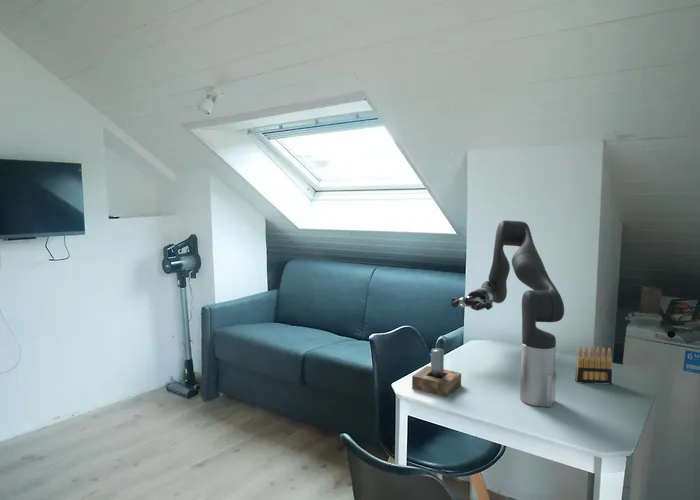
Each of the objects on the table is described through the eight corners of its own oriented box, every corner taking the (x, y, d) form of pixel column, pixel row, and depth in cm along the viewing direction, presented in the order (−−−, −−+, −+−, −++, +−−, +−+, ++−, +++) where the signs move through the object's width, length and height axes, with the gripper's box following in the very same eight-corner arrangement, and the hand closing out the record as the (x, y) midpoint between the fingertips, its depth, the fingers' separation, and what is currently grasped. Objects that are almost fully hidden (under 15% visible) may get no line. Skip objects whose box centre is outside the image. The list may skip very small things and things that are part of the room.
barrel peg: (445, 385, 150) (445, 349, 149) (440, 389, 147) (440, 353, 145) (433, 382, 152) (434, 347, 151) (428, 387, 149) (429, 350, 148)
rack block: (461, 385, 151) (461, 372, 150) (447, 396, 142) (447, 383, 141) (427, 377, 157) (427, 365, 157) (412, 387, 148) (412, 375, 148)
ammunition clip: (576, 382, 152) (578, 347, 151) (575, 380, 154) (576, 345, 153) (611, 384, 151) (613, 348, 149) (609, 382, 152) (611, 346, 151)
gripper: (462, 287, 182) (446, 293, 168) (499, 290, 174) (485, 298, 161) (462, 306, 183) (446, 314, 169) (498, 310, 175) (484, 319, 161)
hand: (465, 306), depth 165 cm, fingers open, 8 cm apart
